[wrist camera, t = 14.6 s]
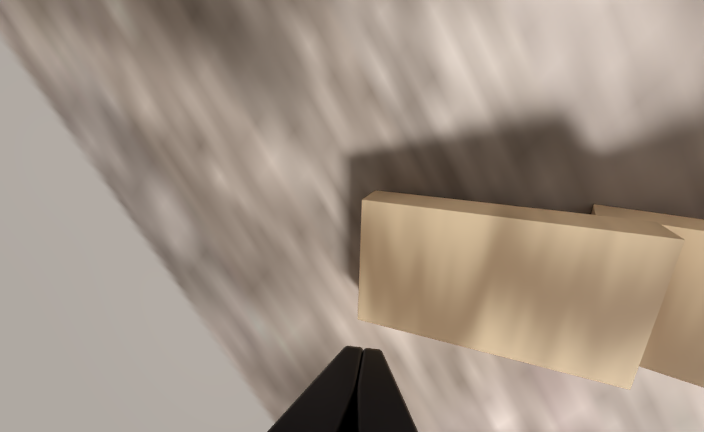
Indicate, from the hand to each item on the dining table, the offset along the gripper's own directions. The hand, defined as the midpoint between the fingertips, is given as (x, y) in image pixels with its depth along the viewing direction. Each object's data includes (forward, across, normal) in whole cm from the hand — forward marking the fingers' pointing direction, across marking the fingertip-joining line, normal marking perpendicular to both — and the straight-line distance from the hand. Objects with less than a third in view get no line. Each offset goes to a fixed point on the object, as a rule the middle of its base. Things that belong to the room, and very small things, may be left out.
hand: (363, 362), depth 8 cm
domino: (+6, 0, 0) cm, 6 cm away
